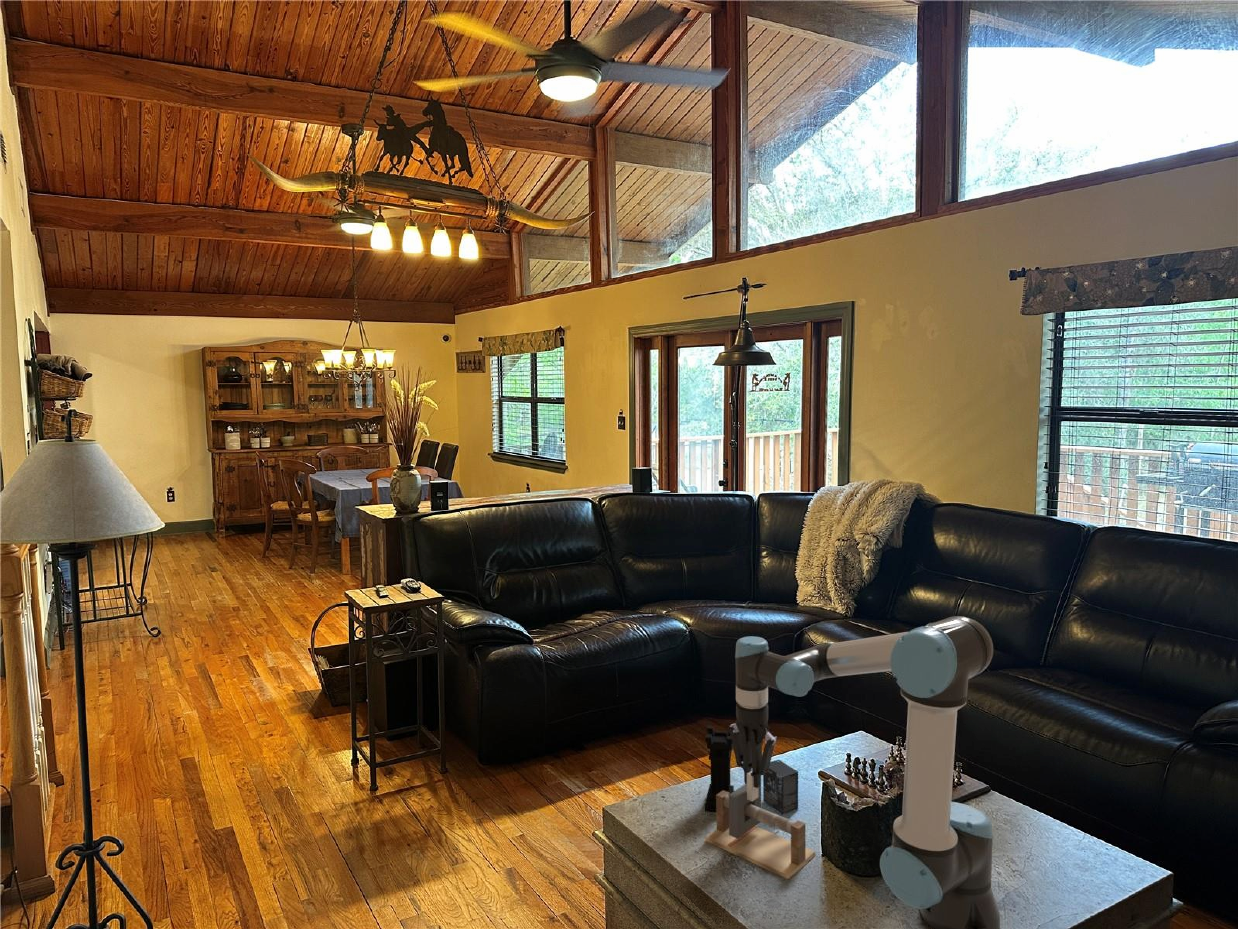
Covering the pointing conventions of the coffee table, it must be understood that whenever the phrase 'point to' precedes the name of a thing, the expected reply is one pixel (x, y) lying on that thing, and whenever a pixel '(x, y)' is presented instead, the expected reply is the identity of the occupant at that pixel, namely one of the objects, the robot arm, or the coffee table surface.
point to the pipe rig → (762, 839)
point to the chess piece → (718, 765)
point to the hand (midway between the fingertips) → (752, 798)
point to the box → (781, 787)
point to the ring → (741, 812)
